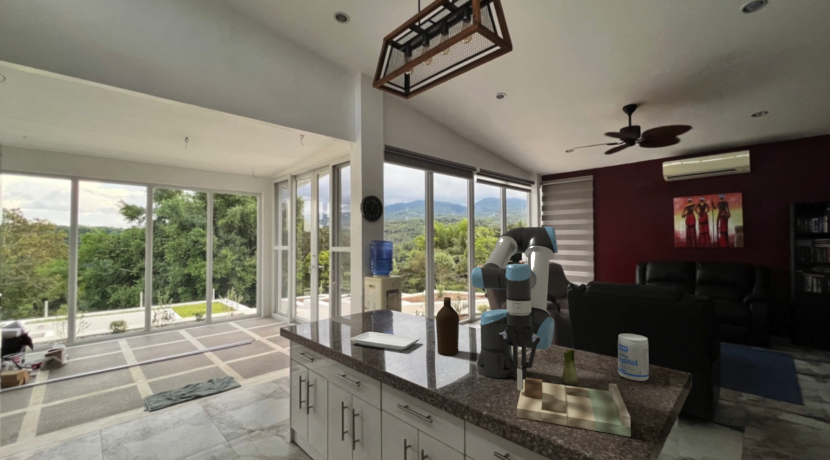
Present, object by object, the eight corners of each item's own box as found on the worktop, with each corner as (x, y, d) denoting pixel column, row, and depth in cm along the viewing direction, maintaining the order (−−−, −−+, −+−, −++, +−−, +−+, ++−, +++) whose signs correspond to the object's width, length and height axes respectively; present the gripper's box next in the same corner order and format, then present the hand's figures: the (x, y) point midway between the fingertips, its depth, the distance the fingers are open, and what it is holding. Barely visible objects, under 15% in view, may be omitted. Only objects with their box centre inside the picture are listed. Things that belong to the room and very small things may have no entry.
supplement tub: (616, 377, 127) (614, 337, 127) (621, 370, 134) (619, 331, 135) (647, 384, 121) (646, 341, 121) (651, 376, 128) (649, 335, 128)
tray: (368, 337, 186) (368, 330, 186) (420, 344, 171) (420, 337, 172) (348, 345, 171) (348, 338, 171) (404, 354, 156) (404, 346, 156)
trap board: (517, 417, 99) (516, 399, 99) (523, 387, 119) (523, 372, 119) (630, 436, 88) (630, 416, 88) (616, 400, 108) (616, 384, 109)
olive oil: (440, 357, 151) (439, 299, 152) (433, 350, 161) (432, 296, 162) (463, 355, 153) (462, 298, 154) (455, 348, 163) (454, 295, 164)
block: (524, 396, 106) (524, 383, 106) (526, 390, 111) (525, 377, 111) (542, 399, 104) (541, 385, 104) (542, 392, 109) (542, 379, 109)
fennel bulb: (573, 381, 124) (572, 347, 124) (582, 386, 119) (581, 351, 119) (558, 382, 123) (557, 348, 123) (566, 388, 118) (565, 352, 118)
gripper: (496, 313, 109) (497, 390, 108) (540, 316, 104) (541, 396, 103) (500, 309, 116) (501, 381, 115) (541, 312, 111) (542, 387, 110)
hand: (520, 388), depth 109 cm, fingers closed
